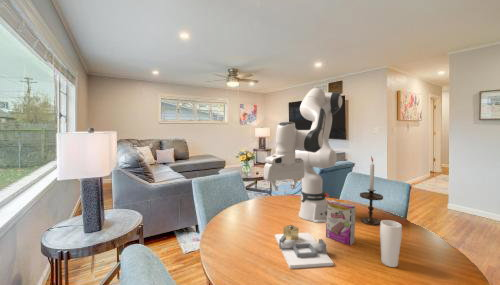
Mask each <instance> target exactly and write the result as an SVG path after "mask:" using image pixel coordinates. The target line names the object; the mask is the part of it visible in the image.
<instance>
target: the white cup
mask: <svg viewBox="0 0 500 285" xmlns="http://www.w3.org/2000/svg"><path fill="white" fill-rule="evenodd" d="M379 238H380V239H379V240H380V242H379V243H380V261H381V263H382V264H383V265H385V266H386V267H390V268H396V267H397V266H398V265H399V258H400V250H401V243H402V238H403V225H402V224H401V223H399V221H395V220H389V219H381V221H380V225H379Z"/></svg>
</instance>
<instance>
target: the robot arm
mask: <svg viewBox="0 0 500 285" xmlns="http://www.w3.org/2000/svg"><path fill="white" fill-rule="evenodd" d="M300 103H301V104H300V106H299V111H300V115H301V116H302V117H303V118H304V119H305V120H306V121H307V120H308V121H311V123H312V124H311V127H310V129H297V128H296V123H295V122H293V121H285V122H279V123H278V124H277V126H276V131H275V132H276V133H275V144H276V147H275V152H274V154H272V155H269V156H267V157H265V159H264V161H265V164H264V166H263V179H264V180H265V181H267V182H270V183H271V185H272V191H273V192H275V191H279V186H277V184H276V183H277V181H286V180H292V183H291V184H290V189H292V190H293V189H294V190H295V189H296V185H297V183H298V180H300V179H301V190H300V209H299V212H298V217H299V218H301V219H303V220H305V221H311V222H314V223H317V224H319V223H326V219H327V218H326V217H327V202H328V201H329V200H328V199H327V198H329V197H330V195H329V193H327V192H326V193H325V192H324V191H323V183H324V182H323V177H322V176H321V175H320V174H319V173H317V172H316V170H315V169H314V168H319V169H328V168H333V167H334V166H335V165H336V163H337V162H338V156H337V153H336V152H335V150H334V149H333V148H332V147H331V146H330V144H329V139H330V133H331V130H332V124H333V115H336V114H337V113H338V111H339V110H340V109H341V108H342V105H343V96H342V95H341V93H339V92H325V91H324V90H323V89H321V88H319V87H314V88H311V89H310V90H309V91H308V92H307V93H306V95H305V96H304V98H303V99H302V101H301V102H300Z"/></svg>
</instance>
